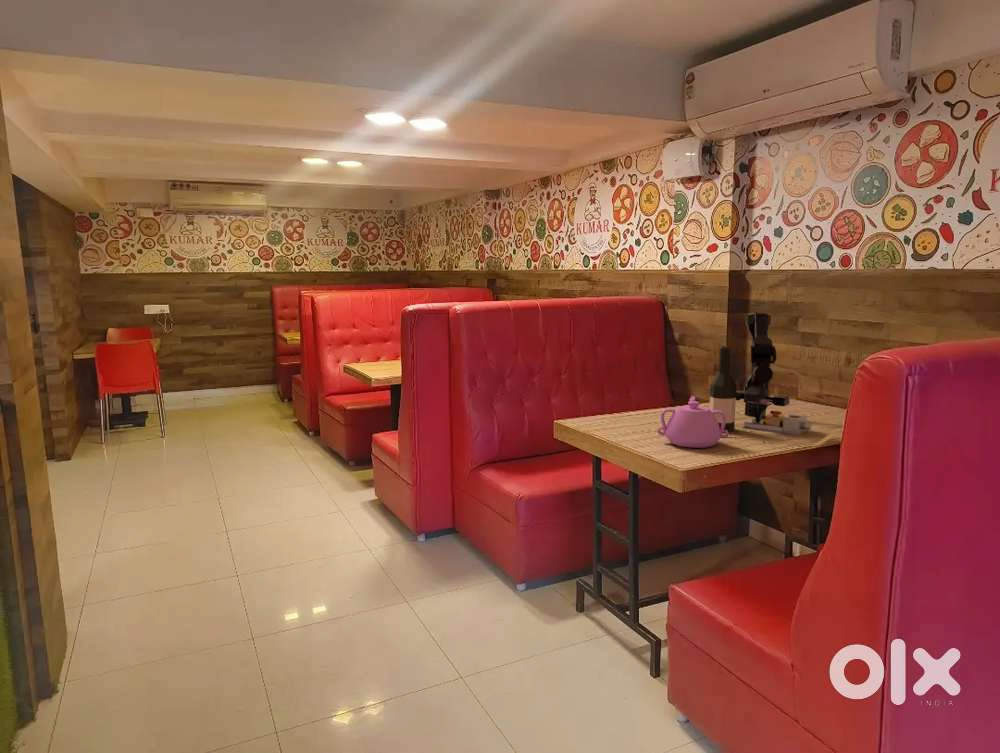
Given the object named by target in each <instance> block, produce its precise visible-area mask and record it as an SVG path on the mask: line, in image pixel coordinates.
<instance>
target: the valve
mask: <svg viewBox="0 0 1000 753" xmlns="http://www.w3.org/2000/svg"><path fill="white" fill-rule="evenodd" d="M769 413H770V414H768V415H766V416H765V417H761V420H760V423H761V424H764V425H771V426H779V427H783V417H786V415H785V414H784V415H783V414H782V411H780V410H770V412H769Z"/></svg>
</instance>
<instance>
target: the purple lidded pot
mask: <svg viewBox="0 0 1000 753" xmlns="http://www.w3.org/2000/svg"><path fill="white" fill-rule="evenodd" d="M687 403H688V405H680V406H678V407H676V409H673V408H666V409H664V410H663V411H661V414H660V421H661V425H662V426H659V427H658V428H657V435H659V436H665V437H666V439H668V441H669V442H670V443H671V444H672V445H676V446H678V447H680V448H681V447H683V448H685V447H686V448H700V449H701V448H703V449H706V448H709V447H713V446H715V445H716V444H717V443H718V441H720V439H723V440H724V439H726V438H728V437H729V433H730V432H728V431H727V430H724V427H725V424H726V419H727V418H726V415H725V413H724V412H722V411H720V410H714V411H711V410H710V407H706V406H700V402H699V401H696V397H695V396H694V395H691V396H690V397H689V401H688V402H687ZM666 413H672V414H671V416H670V417H669V419H668V421H667V422H666V420H665V414H666ZM714 414H721V415H722V416H723V422H722V425H721V428H720V427H719V424H718V422H717V420H716V418H715V416H714ZM661 430H663V432H662V431H661ZM724 433H725V434H724Z"/></svg>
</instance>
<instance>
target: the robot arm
mask: <svg viewBox="0 0 1000 753" xmlns="http://www.w3.org/2000/svg"><path fill="white" fill-rule="evenodd" d="M745 321H746V322H745V326H746V327H747V332H748V334H749V335H750V338H751V345H750V349H749V350H750V352H749V354H750V356H749V357H750V359H749V360H750V376H749V378H748V379H747V381H746V382H745V386H744V388H743V390H737V389H736V402H737V401H738V402H739V401H740V400H741V399H742V401H743V403H744V404H745V407H744V416H747V417H749V418H750V417H751V418H754V419H756V422H760V420H761V417H766V416H767V415H766V414H767V412H766V411H767V408H768V407H769V406H771V405H773V406H777V407H786V406H789V405H790V397H789V396H788V395H780V394H776V395H774V396H770V394H771V391H770V385H771V380H772V378H773V375H774V372H773V370H772V367H771V364H775V363H776V361H777V349H776V347H775V345H774V344H773V340H772V339H771V338H770V337H769V335H768V331H769V327H771V326H772V315H770V314H768V313H766V312H755V313H750V314H747V315H746V320H745Z"/></svg>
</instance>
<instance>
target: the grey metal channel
mask: <svg viewBox="0 0 1000 753" xmlns="http://www.w3.org/2000/svg"><path fill="white" fill-rule="evenodd" d="M743 425H744V426H742V427H741V428H740V429H746V430H752V431H759V432H760V431H761V432H767V433H775V434H780V435H781V434H782V435H789V436H797V437H798V436H800V435H802V434H804V433H805V432H807V431H811V429H812V423H811V422H808V416H807V415H799V414H790V413H789V414H788V416H785V417H783V427H779V426H771V425H764V424H761V423H760V422H756V419H755V418H752V419H751V422H748V421H745V422H744V424H743Z"/></svg>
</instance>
